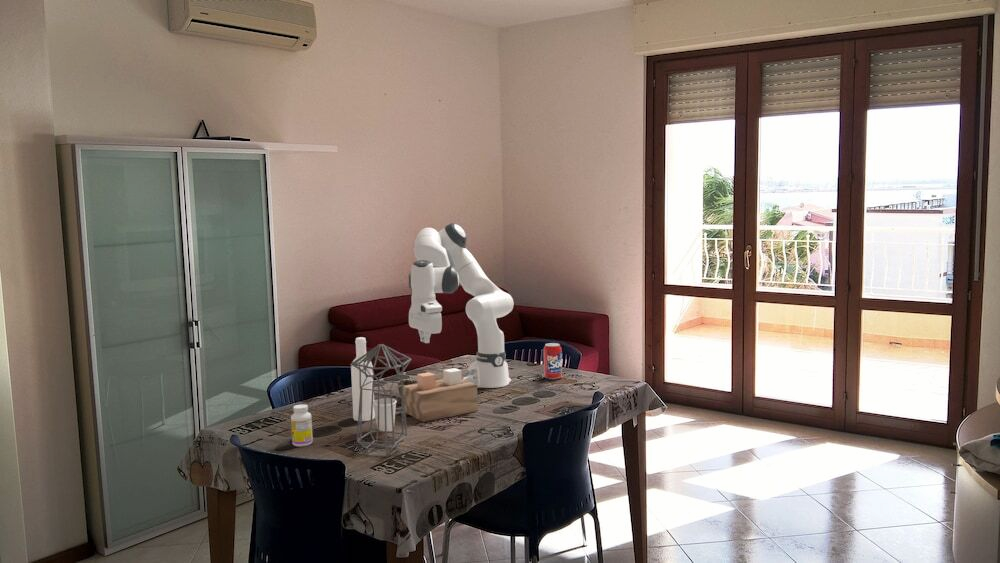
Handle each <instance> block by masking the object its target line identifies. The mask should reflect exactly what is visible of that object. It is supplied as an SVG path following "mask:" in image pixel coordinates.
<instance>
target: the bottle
mask: <svg viewBox="0 0 1000 563" xmlns="http://www.w3.org/2000/svg"><path fill="white" fill-rule="evenodd" d="M354 343H355V353H356V357H355V358H354V359H353V360H352V362H354V361H355V360H357V359H359V358H360V357H362V356H363V355H365V354H366V353H367V340H366V337H363V336H360V337H359V336H358V337H356V338H355V341H354ZM365 357H366V356H365ZM365 357H364V358H365ZM364 358H362V359H361V360H363V359H364ZM361 360H360V361H361ZM360 361H358V362H360ZM367 361H368V360H367ZM367 361H366V362H365V365H366V364H367ZM360 365H364V361H363V362H362V363H361V364H360ZM373 366H374V364H373V362H372V360H371V361H370V363H369V364H368V367H373ZM358 367H359V366H358ZM360 369H363V367H361V366H360ZM367 370H368V372H369V373H370V374H371V375H373V371H372V369H370V368H367ZM367 370H366V374H368V375H369V373H368V372H367ZM350 371H351V372H350V373H351V392H352V393H351V398H352V418H353V419H352V420H354V421H356V422H358V413H359V399H360V376H359V369H357V368H356V367H354V366H351V365H350ZM364 372H365V370H364ZM365 379H366V376H365V374H364V373H362V372H361V386H362V385H363V383H364V381H365ZM373 379H374V378H373ZM373 379H372V378H371V377H367V379H366V381H365V383H364V384H366V383H368V382H370V381H372V382H373V381H374V380H373ZM372 382H371V383H369V384H367V385H365V386H363V387H362V388H364V389H372ZM373 401H375V394H374V395H373ZM371 402H372V390H362V422H369V421H371ZM374 419H376V418H375V412H374V406H373V414H372V420H374Z"/></svg>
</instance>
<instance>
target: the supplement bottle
mask: <svg viewBox="0 0 1000 563" xmlns="http://www.w3.org/2000/svg"><path fill="white" fill-rule="evenodd" d="M308 406H309V405H307V404H305V403H304V404H295V405H293V407H292V409H293V413H292V414H291V416H290V426H291V427H290V428H291V443H292V445H293V446H295V447H299V448H300V447H308V446H310V445H311V444H312V443H313V440H314V437H313V422H312V413H310V412H309V407H308Z"/></svg>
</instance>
